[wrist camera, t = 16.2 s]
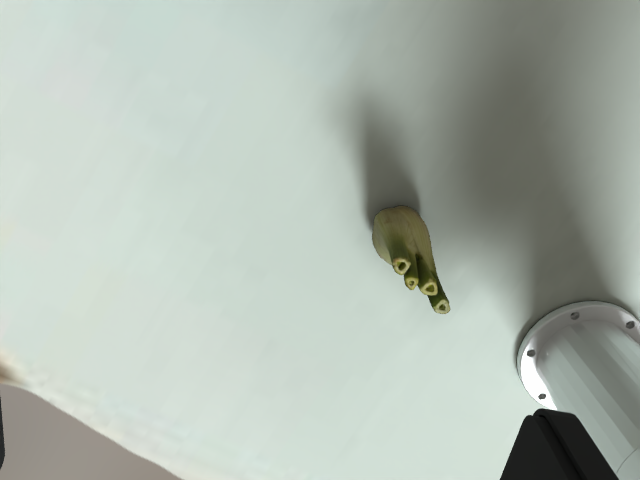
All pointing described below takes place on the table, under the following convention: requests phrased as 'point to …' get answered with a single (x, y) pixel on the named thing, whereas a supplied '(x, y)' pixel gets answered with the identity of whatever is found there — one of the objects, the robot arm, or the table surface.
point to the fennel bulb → (409, 252)
